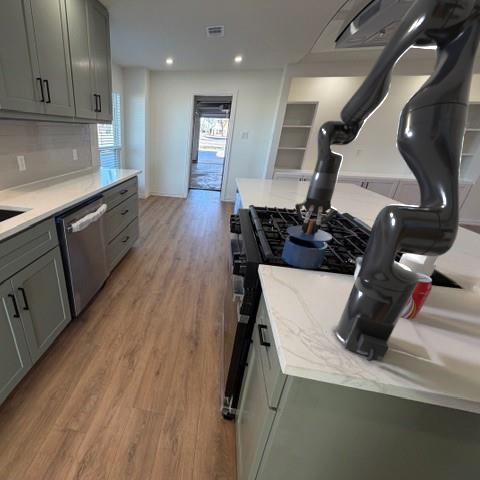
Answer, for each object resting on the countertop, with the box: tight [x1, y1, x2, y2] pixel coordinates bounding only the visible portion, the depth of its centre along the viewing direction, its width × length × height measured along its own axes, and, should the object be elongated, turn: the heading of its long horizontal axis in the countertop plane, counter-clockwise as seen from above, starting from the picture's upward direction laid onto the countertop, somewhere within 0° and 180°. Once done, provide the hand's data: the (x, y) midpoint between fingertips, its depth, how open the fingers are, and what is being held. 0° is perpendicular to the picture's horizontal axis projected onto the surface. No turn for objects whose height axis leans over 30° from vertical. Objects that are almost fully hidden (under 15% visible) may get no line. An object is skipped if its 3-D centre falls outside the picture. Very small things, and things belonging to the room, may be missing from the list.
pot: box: [281, 234, 328, 270], centre depth 96 cm, size 14×14×8 cm
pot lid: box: [286, 218, 333, 243], centre depth 92 cm, size 15×15×6 cm
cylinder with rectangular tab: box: [398, 253, 439, 278], centre depth 89 cm, size 9×9×12 cm
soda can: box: [400, 271, 433, 320], centre depth 68 cm, size 7×7×12 cm
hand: (308, 232), depth 93 cm, fingers closed on pot lid, 2 cm apart
